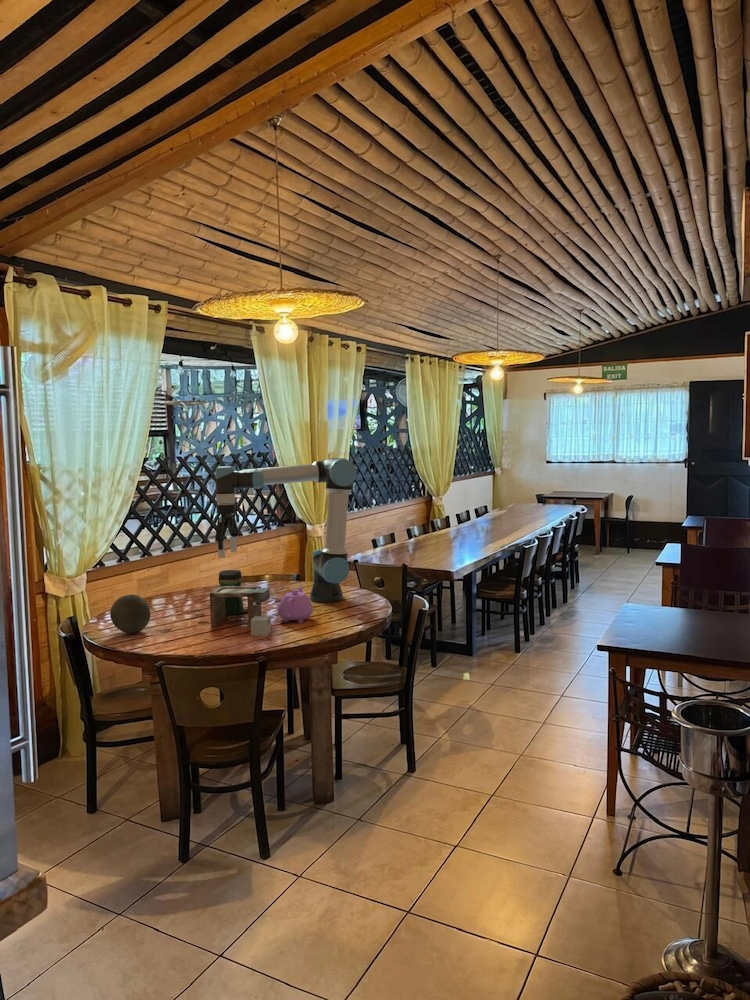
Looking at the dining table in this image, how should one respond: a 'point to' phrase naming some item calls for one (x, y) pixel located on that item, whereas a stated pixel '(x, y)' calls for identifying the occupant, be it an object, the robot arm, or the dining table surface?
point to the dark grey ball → (130, 614)
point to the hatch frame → (219, 603)
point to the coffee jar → (231, 579)
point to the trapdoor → (258, 594)
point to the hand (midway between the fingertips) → (227, 554)
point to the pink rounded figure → (295, 606)
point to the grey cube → (261, 625)
